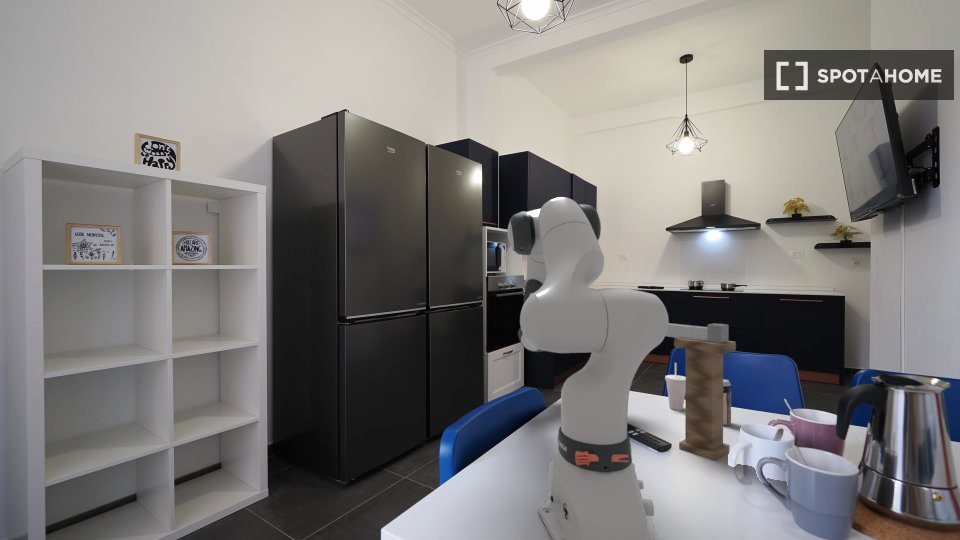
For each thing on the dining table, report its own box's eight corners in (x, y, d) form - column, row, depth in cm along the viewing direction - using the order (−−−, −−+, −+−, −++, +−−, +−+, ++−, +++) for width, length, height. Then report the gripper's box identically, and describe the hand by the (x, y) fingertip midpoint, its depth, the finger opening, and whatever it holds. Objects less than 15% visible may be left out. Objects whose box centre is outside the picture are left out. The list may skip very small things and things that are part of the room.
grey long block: (646, 334, 107) (646, 318, 107) (654, 332, 109) (654, 317, 109) (721, 343, 92) (721, 325, 92) (728, 341, 95) (728, 324, 95)
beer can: (733, 426, 112) (733, 382, 112) (714, 425, 113) (714, 381, 113) (727, 420, 117) (727, 378, 117) (708, 419, 118) (708, 377, 118)
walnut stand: (672, 446, 99) (673, 338, 99) (688, 438, 104) (688, 335, 104) (722, 463, 90) (722, 345, 90) (736, 453, 95) (736, 341, 95)
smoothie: (682, 405, 130) (683, 361, 130) (691, 412, 123) (691, 365, 123) (661, 404, 130) (662, 360, 130) (669, 411, 124) (669, 365, 124)
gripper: (557, 325, 119) (595, 315, 108) (601, 318, 131) (638, 308, 120) (563, 347, 117) (601, 339, 107) (606, 337, 129) (645, 329, 119)
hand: (621, 322), depth 113 cm, fingers open, 8 cm apart
